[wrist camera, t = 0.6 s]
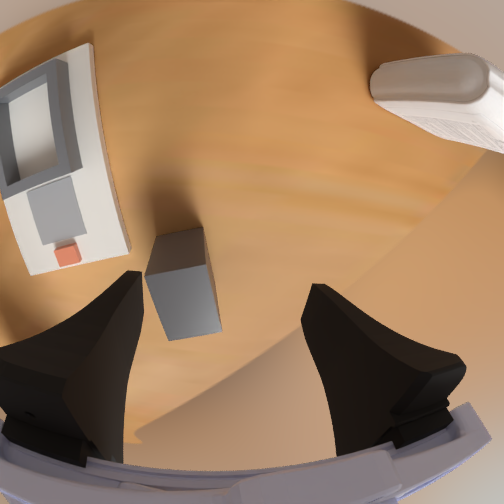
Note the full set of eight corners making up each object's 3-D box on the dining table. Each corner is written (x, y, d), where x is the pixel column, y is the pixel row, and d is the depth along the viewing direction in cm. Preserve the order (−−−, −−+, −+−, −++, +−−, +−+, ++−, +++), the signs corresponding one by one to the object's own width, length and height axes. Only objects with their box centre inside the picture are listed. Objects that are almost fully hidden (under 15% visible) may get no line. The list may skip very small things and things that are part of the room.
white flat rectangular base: (35, 270, 19) (20, 288, 17) (-7, 96, 12) (-28, 96, 9) (131, 248, 20) (123, 266, 18) (93, 45, 13) (78, 35, 11)
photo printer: (450, 104, 20) (554, 123, 9) (443, 143, 21) (548, 176, 10) (371, 58, 17) (496, 39, 6) (363, 103, 19) (494, 110, 8)
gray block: (172, 291, 23) (168, 340, 17) (156, 236, 20) (144, 276, 15) (215, 283, 23) (222, 331, 18) (203, 226, 21) (206, 264, 15)
